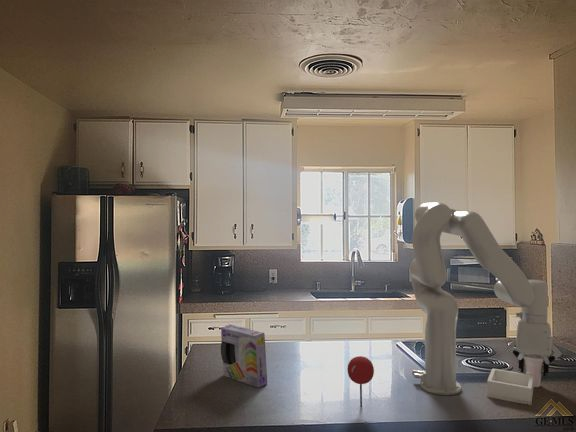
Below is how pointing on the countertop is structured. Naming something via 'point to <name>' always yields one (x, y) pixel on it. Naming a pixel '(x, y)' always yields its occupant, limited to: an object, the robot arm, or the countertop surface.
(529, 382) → the box
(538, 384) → the smoothie
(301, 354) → the countertop surface
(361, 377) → the lollipop
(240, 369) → the cake pan box
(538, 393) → the countertop surface
